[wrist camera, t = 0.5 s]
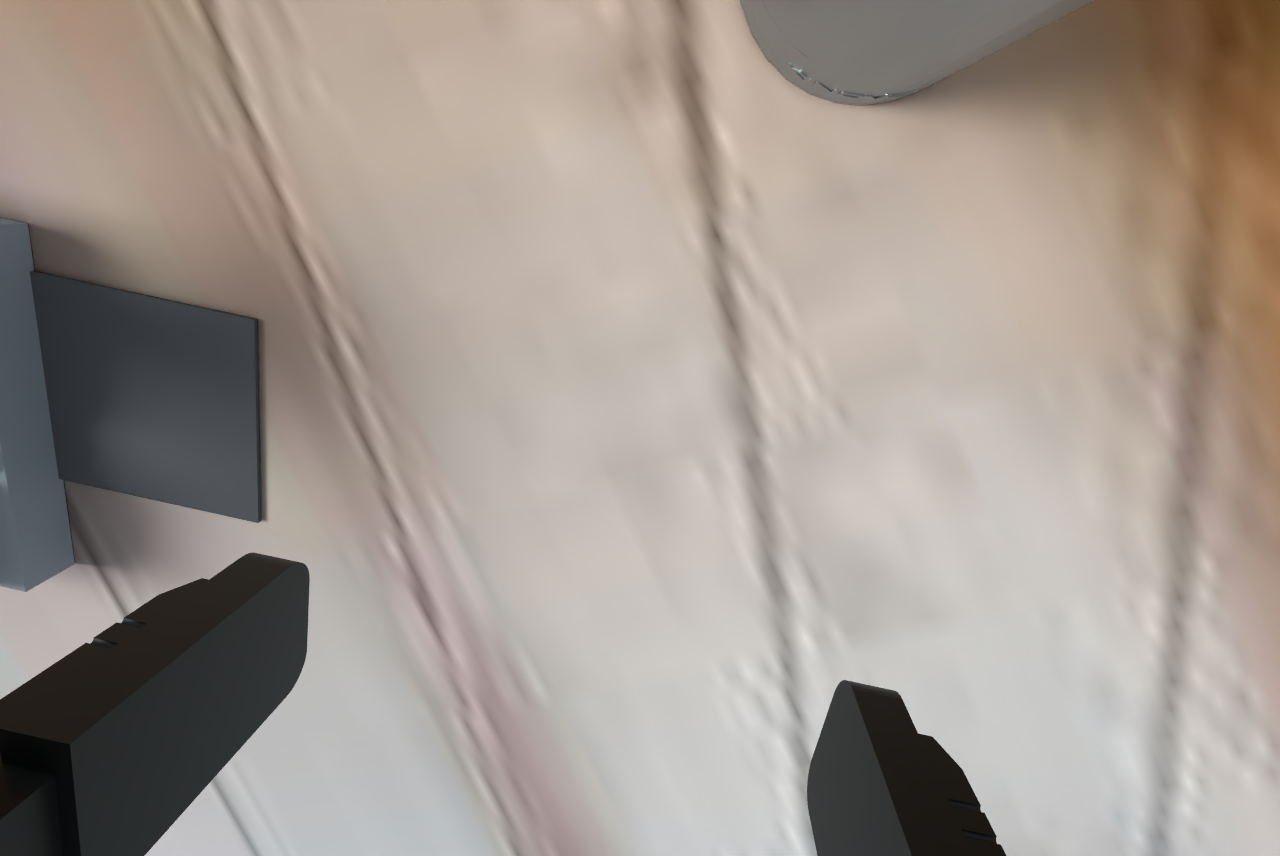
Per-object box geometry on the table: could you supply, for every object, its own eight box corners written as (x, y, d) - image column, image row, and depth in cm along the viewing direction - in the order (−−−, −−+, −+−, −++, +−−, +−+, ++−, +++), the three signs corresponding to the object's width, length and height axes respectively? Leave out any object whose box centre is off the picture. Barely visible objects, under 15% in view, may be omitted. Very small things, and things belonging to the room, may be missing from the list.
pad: (34, 271, 27) (29, 271, 27) (257, 319, 27) (254, 319, 27) (62, 477, 31) (58, 478, 31) (260, 520, 31) (258, 522, 30)
